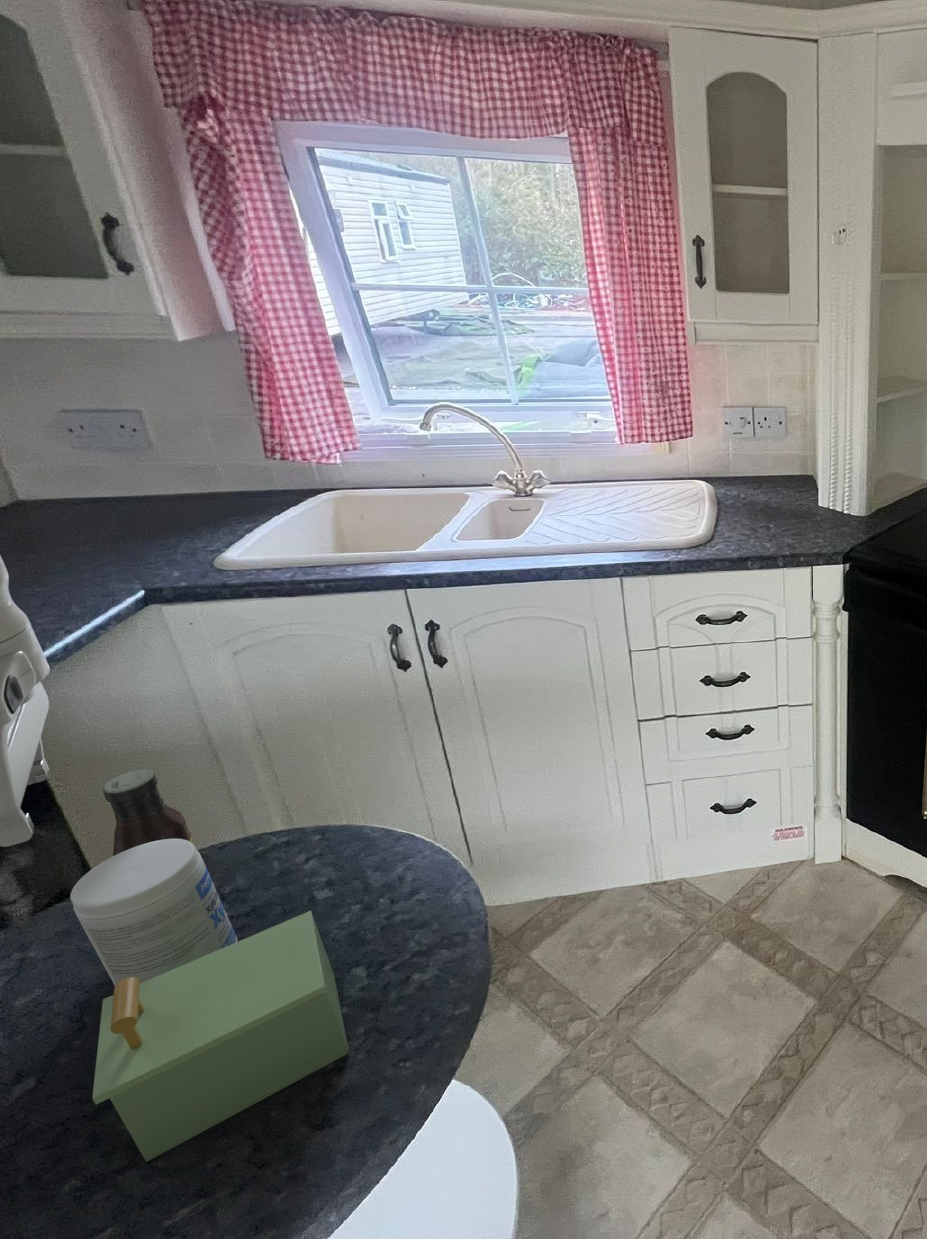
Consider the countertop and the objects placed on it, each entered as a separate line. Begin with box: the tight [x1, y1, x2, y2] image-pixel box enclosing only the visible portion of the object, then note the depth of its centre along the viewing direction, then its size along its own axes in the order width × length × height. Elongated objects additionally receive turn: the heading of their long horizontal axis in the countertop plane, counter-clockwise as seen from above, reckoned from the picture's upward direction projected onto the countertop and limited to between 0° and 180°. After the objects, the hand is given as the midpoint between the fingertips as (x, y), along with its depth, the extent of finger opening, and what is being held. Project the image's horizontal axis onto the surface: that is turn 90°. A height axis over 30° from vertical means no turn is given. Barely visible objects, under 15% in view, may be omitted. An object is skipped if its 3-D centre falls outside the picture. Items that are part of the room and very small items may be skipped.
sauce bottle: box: [102, 769, 198, 857], centre depth 85 cm, size 7×6×20 cm
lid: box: [91, 910, 326, 1105], centre depth 69 cm, size 15×12×5 cm
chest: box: [109, 917, 350, 1162], centre depth 72 cm, size 15×12×9 cm
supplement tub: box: [69, 839, 239, 987], centre depth 79 cm, size 10×10×15 cm
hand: (27, 807), depth 64 cm, fingers open, 8 cm apart
